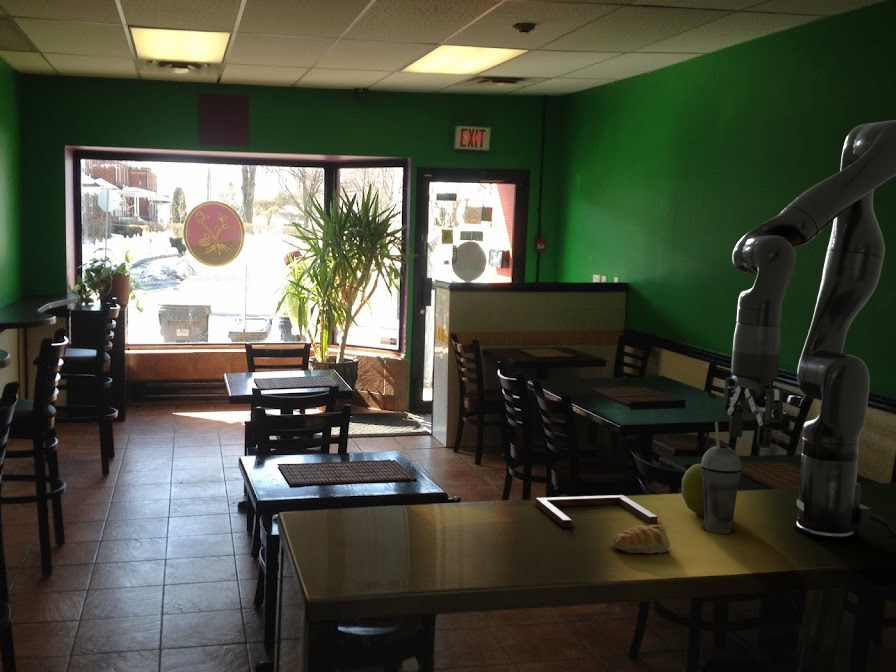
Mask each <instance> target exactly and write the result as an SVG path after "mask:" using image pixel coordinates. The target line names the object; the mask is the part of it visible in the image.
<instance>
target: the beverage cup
mask: <svg viewBox="0 0 896 672" xmlns="http://www.w3.org/2000/svg"><path fill="white" fill-rule="evenodd" d="M714 427H715V441H716V445H715V446H712V447H710V448H708V449H707V451H705V453H704V454H703V456H702V458H701V462H700V464H701V465H700V467H701V474H702V478H703V498H704V516H703V518H704V529H705V530H706V531H708V532H712V533H715V534H729V533H731V532H732V527H733V522H734V516H735V510H736V509H735V508H736V502H737V496H738V488H739V482H740V480H741V476H742V472H743V467H742V462H741V461H742V460H741V458H740V456H739V455H738V453H737V452H736V451H735V450H734V449H733V448H731V447H730V446H726V445H720V443H721V442H720V429H719V421H715V422H714Z"/></svg>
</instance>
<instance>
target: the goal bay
mask: <svg viewBox="0 0 896 672" xmlns="http://www.w3.org/2000/svg"><path fill="white" fill-rule="evenodd" d="M574 499H578V500H574ZM555 500H558V501H555ZM535 505H536V506H537V507H538V508H539V509H540V510H542V512H544V513H545V514H546V515H548V516H549V517H550V518H551V519H553V521H555V522H556V523H557V524H559V526H561V527H562V528H572V526H573V525H572V522H573V520H572V519H571V518H570V517H569V516H567V514H565V513H564V512H562V511H561V509H558V508H557V507H572V506H573V507H576V506H578V507H579V506H605V505H620V506H621V507H623V508H624V509H625V510H627V511H629V512H631V513H632V514H633V515H635V516H637V517H638V518H640V519H641V520H643V521H644V522H646V523H647V524H649V525H651V524H652V525H658V518H659V517H658V516H657V515H656V514H654V513H653V512H651V511H649V510H648V509H646V508H644V507H643V506H641V505H640V504H639V503H636V502H634V501H633V500H632V499H630V498H628V497H627V496H625V495H624V494H617V495H615V494H614V495H613V494H612V495H585V496H555V497H536V498H535Z"/></svg>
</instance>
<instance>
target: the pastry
mask: <svg viewBox="0 0 896 672" xmlns="http://www.w3.org/2000/svg"><path fill="white" fill-rule="evenodd" d="M611 546H613V547H614V548H616V549H619V550H620V551H623V552H626V553H630V554H634V553H637V554H655V553H659V554H663V553H665V552H667V551H668V550H669V549H670V547H671V542H670V539H669V536H668V535H667V532H666V529H665V528H664V527H663V526H661V525H660V524H649V525H634V526H632V527H630V528H628V529H626V530H622V531H620V532H619V533H617V534H614V535H613V538H612V541H611Z"/></svg>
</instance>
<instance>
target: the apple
mask: <svg viewBox="0 0 896 672" xmlns="http://www.w3.org/2000/svg"><path fill="white" fill-rule="evenodd" d="M700 465H701V463H696V464H693V465H691V466H690V467H689V468H688V469H686V471H685V473H684V475H683V477H682V479H681V495H682V498H683V500H684V502H685V505H686V507H687V508H688V509H689V510H690V511H692V512H693V513H694V514H695V515H697V516H700V517H704V498H703V478H702V474H701V467H700Z"/></svg>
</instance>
